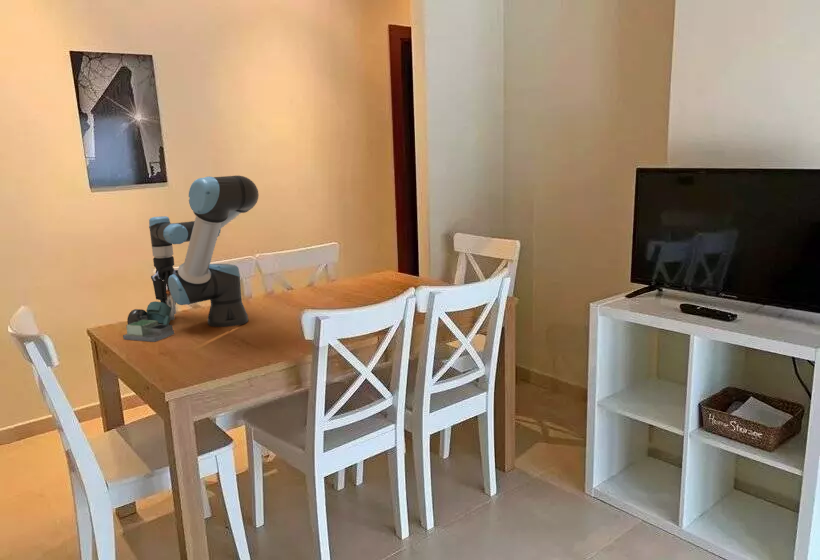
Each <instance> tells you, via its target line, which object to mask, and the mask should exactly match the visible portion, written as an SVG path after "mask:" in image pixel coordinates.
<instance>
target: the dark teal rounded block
mask: <svg viewBox="0 0 820 560" xmlns="http://www.w3.org/2000/svg"><path fill="white" fill-rule="evenodd" d="M145 311H146V312H147V314H148V317H149V320H155V321H158V325H159V324H162V325H170V322H171V320H170V317H169V315H170V312H171V308H170V306H169V305H167V304H165V303H162V302H161V301H158V300H156V301H151V302H150V303H149V304H148V305H147V308H146V310H145Z"/></svg>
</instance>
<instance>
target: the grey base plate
mask: <svg viewBox="0 0 820 560" xmlns="http://www.w3.org/2000/svg"><path fill="white" fill-rule="evenodd" d="M125 326H126V334H123V335H122V336H123V340H127V341H128V340H131V341H141V342H150V343H151V342H152V343H156V342H159V341H160V340H161V341H162V340H163V339H165V338H168V337H171V336H173V335H175V330H174V329H173V326H174V325H173V324H169V325H163V324H158V321H155V320H140V321H137V322H134V323H131V324H128V323H127V324H126V325H125Z"/></svg>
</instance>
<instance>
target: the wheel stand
mask: <svg viewBox="0 0 820 560" xmlns="http://www.w3.org/2000/svg"><path fill="white" fill-rule="evenodd" d="M140 320H149V317H148V314H147V311H146V310H144V309H143V308H141V309H140V308H139V309H138V308H135V309H132V310H131V311H130V312H129V313H128V315H127V325H128V324H131V323H134V322H137V321H140Z"/></svg>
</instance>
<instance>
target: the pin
mask: <svg viewBox="0 0 820 560" xmlns="http://www.w3.org/2000/svg"><path fill="white" fill-rule="evenodd" d="M166 300H168V304H169V306H170V308H171V312H170V316H169V317H170V321H173V320H175V314H174V307H173V298H172V296H171V293H170V290H168V289H167V288H166Z"/></svg>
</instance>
